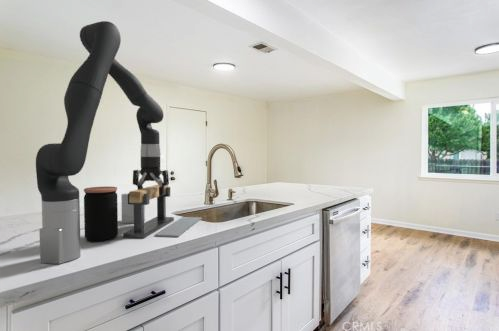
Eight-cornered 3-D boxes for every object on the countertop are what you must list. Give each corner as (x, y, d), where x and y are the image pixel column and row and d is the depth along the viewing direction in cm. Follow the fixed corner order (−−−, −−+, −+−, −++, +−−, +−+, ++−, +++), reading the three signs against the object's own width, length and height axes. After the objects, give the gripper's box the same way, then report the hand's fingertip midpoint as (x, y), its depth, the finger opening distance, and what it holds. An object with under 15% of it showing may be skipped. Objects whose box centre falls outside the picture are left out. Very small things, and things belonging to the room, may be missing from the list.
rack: (144, 238, 107) (143, 195, 106) (123, 237, 108) (122, 194, 107) (173, 220, 134) (173, 186, 134) (156, 219, 135) (156, 185, 135)
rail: (139, 203, 107) (139, 192, 107) (129, 202, 108) (129, 191, 108) (168, 193, 133) (168, 184, 133) (159, 192, 134) (159, 184, 133)
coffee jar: (109, 232, 114) (108, 185, 113) (123, 237, 107) (122, 188, 106) (79, 238, 106) (78, 188, 105) (92, 244, 99) (91, 191, 98)
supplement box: (136, 223, 128) (136, 194, 128) (121, 222, 130) (120, 193, 129) (145, 219, 135) (145, 192, 135) (131, 219, 137) (130, 191, 136)
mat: (178, 237, 108) (178, 235, 108) (154, 236, 109) (154, 234, 109) (201, 218, 138) (201, 217, 138) (182, 218, 139) (182, 216, 139)
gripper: (128, 155, 117) (129, 196, 118) (163, 155, 115) (163, 197, 116) (138, 155, 124) (138, 194, 125) (171, 155, 122) (171, 194, 123)
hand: (150, 195), depth 120 cm, fingers open, 8 cm apart
